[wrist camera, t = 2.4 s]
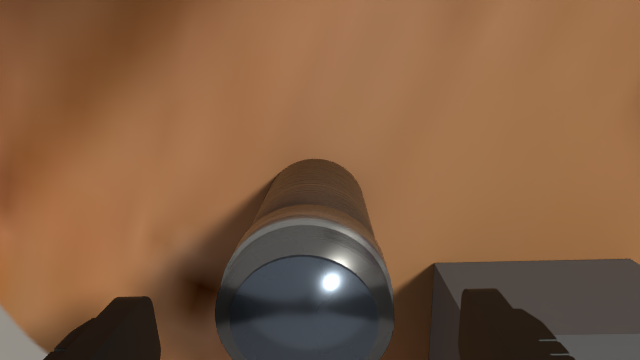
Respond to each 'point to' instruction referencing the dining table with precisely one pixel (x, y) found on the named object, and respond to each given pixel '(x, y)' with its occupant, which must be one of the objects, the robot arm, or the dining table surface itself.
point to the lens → (307, 274)
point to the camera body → (548, 303)
